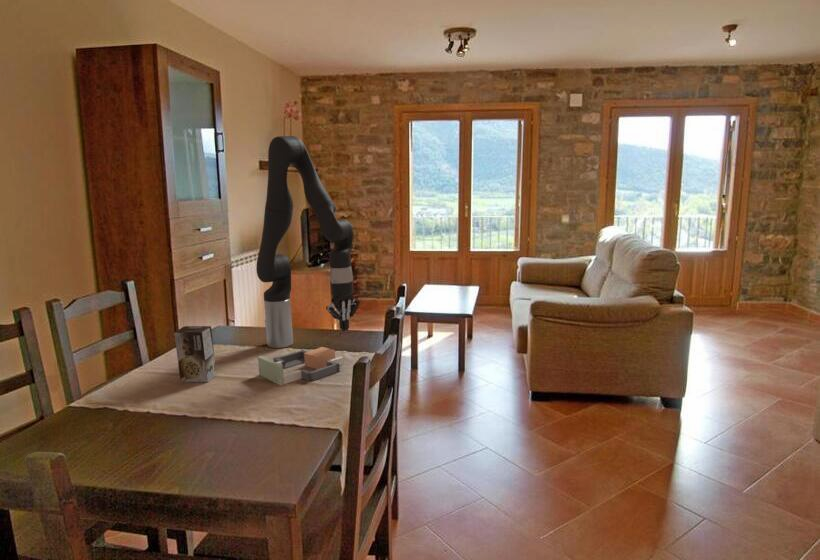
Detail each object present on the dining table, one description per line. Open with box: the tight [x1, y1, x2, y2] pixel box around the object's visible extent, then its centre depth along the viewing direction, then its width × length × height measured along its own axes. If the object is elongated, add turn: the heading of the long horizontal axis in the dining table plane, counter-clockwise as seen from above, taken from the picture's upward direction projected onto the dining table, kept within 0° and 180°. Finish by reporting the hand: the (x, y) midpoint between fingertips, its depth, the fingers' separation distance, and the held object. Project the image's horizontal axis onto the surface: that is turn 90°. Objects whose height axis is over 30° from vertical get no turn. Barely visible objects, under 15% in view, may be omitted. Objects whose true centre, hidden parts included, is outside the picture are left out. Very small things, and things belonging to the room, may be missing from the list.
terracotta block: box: [304, 346, 336, 370], centre depth 175 cm, size 6×8×4 cm
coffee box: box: [173, 325, 217, 383], centre depth 164 cm, size 9×6×16 cm
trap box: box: [257, 349, 345, 387], centre depth 170 cm, size 20×24×6 cm
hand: (344, 330), depth 180 cm, fingers closed
